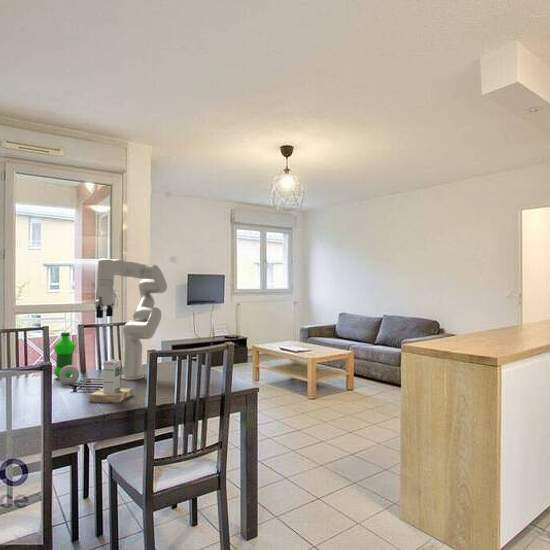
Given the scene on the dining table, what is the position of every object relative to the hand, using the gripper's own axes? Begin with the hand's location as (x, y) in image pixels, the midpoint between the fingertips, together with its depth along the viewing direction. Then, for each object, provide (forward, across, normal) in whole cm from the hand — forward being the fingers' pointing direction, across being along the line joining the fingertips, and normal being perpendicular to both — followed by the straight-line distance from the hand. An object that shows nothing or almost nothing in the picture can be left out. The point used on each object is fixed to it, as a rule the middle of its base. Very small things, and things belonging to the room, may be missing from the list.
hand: (104, 317), depth 211 cm
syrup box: (+34, +14, +12) cm, 38 cm away
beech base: (+36, +14, +12) cm, 41 cm away
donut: (+36, -5, -21) cm, 42 cm away
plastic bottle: (+36, -18, -32) cm, 52 cm away
